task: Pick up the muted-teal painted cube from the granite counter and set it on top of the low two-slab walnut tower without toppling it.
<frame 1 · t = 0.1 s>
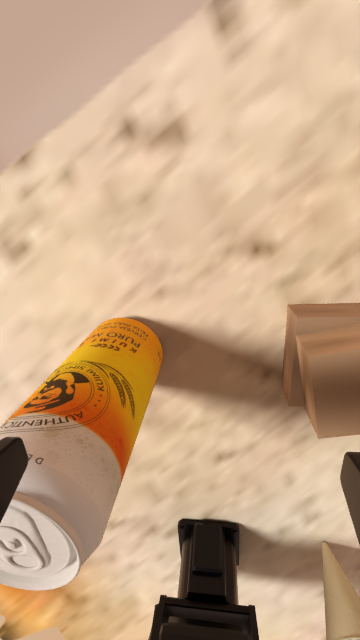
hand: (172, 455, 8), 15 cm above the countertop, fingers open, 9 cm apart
slab upper: (346, 366, 19), point 3 cm above the countertop, touching slab lower
ice cream cone: (323, 541, 30), on the countertop
beer can: (129, 346, 24), on the countertop
slab lower: (330, 344, 22), on the countertop, touching slab upper
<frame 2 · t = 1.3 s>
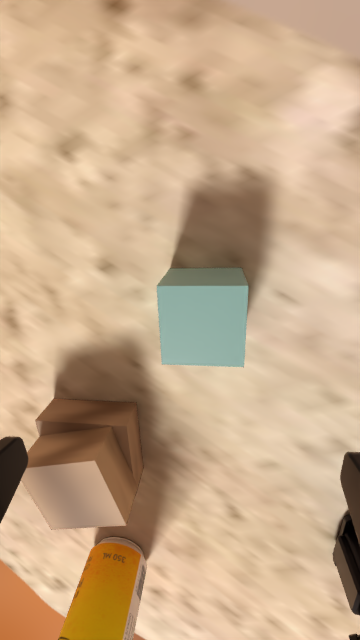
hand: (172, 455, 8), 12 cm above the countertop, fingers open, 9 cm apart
slab upper: (89, 461, 22), point 3 cm above the countertop, touching slab lower
beer can: (121, 550, 31), on the countertop
teal cube: (205, 301, 19), on the countertop
slab lower: (101, 431, 25), on the countertop, touching slab upper
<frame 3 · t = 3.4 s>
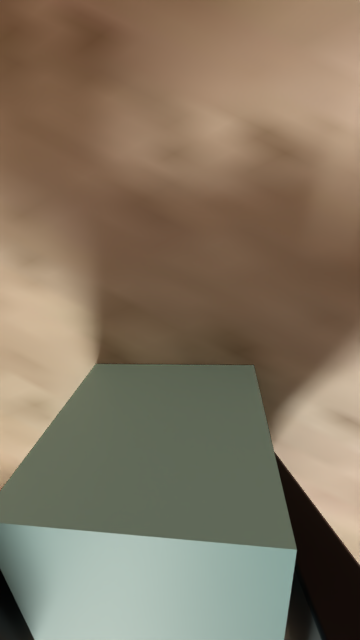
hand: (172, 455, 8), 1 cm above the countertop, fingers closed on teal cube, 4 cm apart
teal cube: (177, 427, 9), on the countertop, touching gripper
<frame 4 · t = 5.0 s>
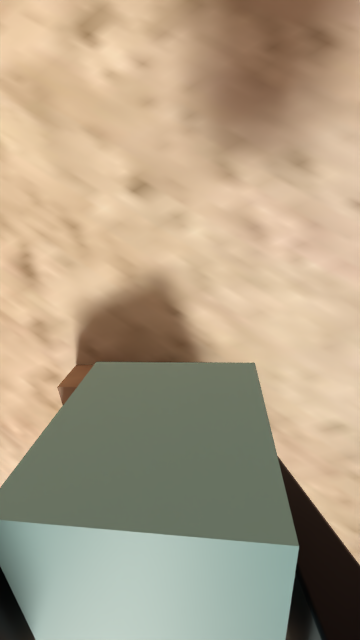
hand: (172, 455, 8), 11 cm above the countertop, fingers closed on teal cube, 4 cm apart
teal cube: (177, 425, 9), point 10 cm above the countertop, touching gripper
slab lower: (132, 401, 22), on the countertop
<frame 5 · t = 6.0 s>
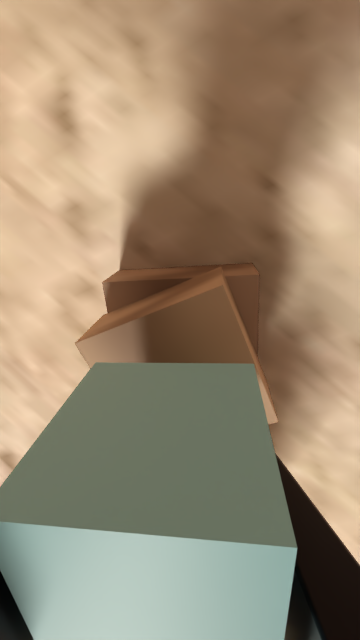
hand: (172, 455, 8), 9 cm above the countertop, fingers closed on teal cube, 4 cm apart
slab upper: (185, 347, 14), point 3 cm above the countertop, touching slab lower
teal cube: (176, 426, 9), point 8 cm above the countertop, touching gripper
slab lower: (188, 324, 17), on the countertop, touching slab upper
when the fingers open (8 cm above the countertop, at t = 6.9 s): teal cube drops 1 cm, resting on slab upper.
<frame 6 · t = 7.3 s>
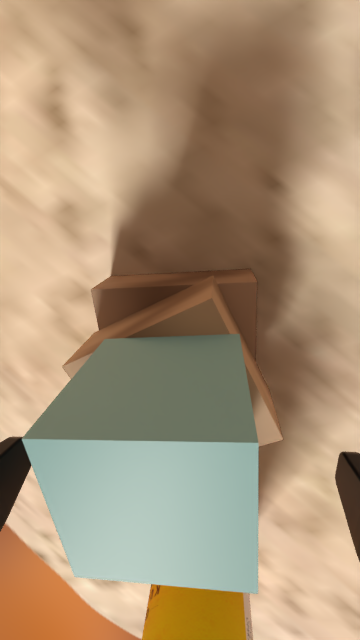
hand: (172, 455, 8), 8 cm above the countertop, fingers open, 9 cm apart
slab upper: (182, 361, 13), point 2 cm above the countertop, touching slab lower, teal cube
beer can: (202, 526, 21), on the countertop
teal cube: (176, 393, 10), point 5 cm above the countertop, touching slab upper
slab lower: (184, 332, 16), on the countertop, touching slab upper
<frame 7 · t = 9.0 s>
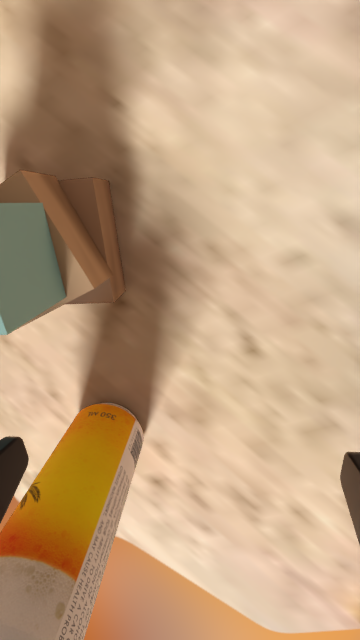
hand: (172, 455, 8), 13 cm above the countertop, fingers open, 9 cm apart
slab upper: (45, 252, 17), point 3 cm above the countertop, touching teal cube
beer can: (112, 424, 25), on the countertop
teal cube: (13, 256, 14), point 6 cm above the countertop, touching slab upper
slab lower: (70, 242, 20), on the countertop
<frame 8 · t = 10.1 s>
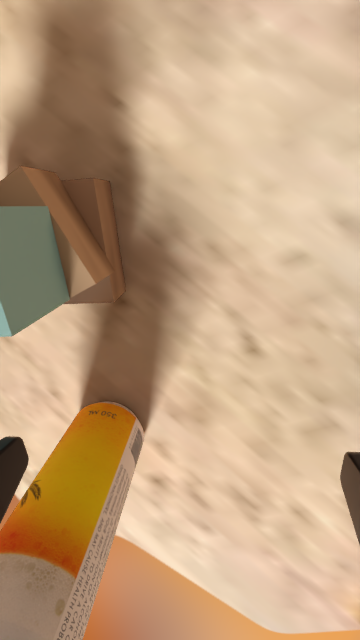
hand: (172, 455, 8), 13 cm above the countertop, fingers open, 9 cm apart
slab upper: (47, 249, 17), point 3 cm above the countertop, touching slab lower, teal cube
beer can: (113, 423, 25), on the countertop
teal cube: (17, 258, 14), point 6 cm above the countertop, touching slab upper
slab lower: (71, 242, 20), on the countertop, touching slab upper
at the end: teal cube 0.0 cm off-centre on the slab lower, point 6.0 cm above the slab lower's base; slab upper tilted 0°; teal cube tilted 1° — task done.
